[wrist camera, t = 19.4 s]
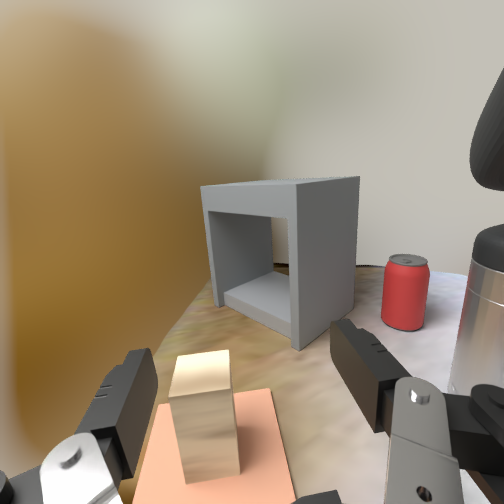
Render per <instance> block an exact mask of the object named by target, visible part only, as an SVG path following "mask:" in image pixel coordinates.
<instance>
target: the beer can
mask: <svg viewBox="0 0 504 504" xmlns="http://www.w3.org/2000/svg"><path fill="white" fill-rule="evenodd" d="M427 262H428V261H427V259H425V258H423V257H421V256H416V255H410V254H396V255H392V256H390V257H389V261H388V263H387V265H386V267H385V273H384V285H383V297H382V309H381V318H382V320H383V321H384V322H385V323H386V324H387V325H389V326H391V327H393V328H395V329H398V330H404V331H413V330H417V329H419V328H421V327H422V325H423V321H424V314H425V307H426V300H427V292H428V285H429V278H430V271H429V268H428V265H427Z"/></svg>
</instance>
